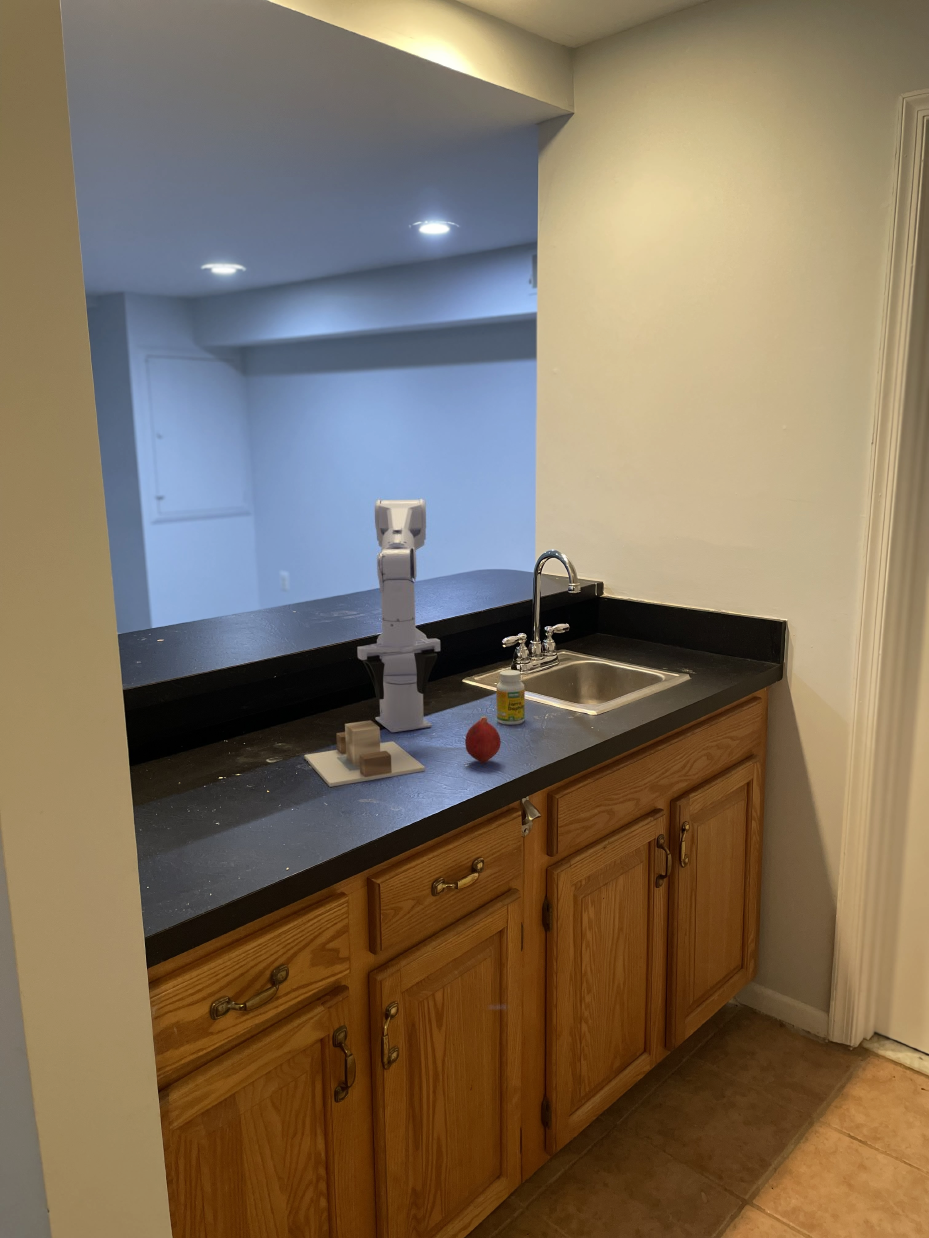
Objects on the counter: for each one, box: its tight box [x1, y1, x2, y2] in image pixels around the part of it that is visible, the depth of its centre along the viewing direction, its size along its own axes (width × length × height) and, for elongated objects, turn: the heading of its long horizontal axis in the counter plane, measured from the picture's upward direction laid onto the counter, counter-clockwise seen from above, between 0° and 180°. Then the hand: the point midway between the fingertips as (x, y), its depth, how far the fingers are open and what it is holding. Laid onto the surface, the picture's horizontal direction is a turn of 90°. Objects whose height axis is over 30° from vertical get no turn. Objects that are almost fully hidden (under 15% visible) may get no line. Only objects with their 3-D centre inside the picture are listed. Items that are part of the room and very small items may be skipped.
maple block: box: [344, 720, 381, 767], centre depth 155 cm, size 4×4×6 cm
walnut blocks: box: [335, 731, 392, 777], centre depth 156 cm, size 15×4×3 cm, turn 25°
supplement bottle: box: [496, 669, 526, 726], centre depth 178 cm, size 5×5×10 cm
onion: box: [464, 716, 502, 764], centre depth 155 cm, size 6×6×8 cm
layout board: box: [304, 740, 426, 788], centre depth 156 cm, size 15×16×1 cm
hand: (400, 695), depth 163 cm, fingers open, 7 cm apart
